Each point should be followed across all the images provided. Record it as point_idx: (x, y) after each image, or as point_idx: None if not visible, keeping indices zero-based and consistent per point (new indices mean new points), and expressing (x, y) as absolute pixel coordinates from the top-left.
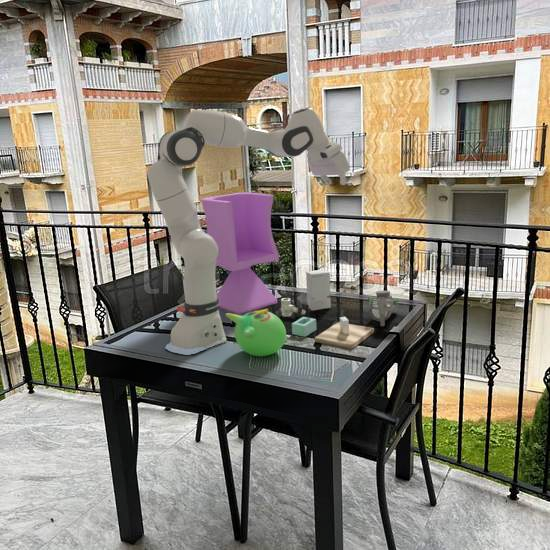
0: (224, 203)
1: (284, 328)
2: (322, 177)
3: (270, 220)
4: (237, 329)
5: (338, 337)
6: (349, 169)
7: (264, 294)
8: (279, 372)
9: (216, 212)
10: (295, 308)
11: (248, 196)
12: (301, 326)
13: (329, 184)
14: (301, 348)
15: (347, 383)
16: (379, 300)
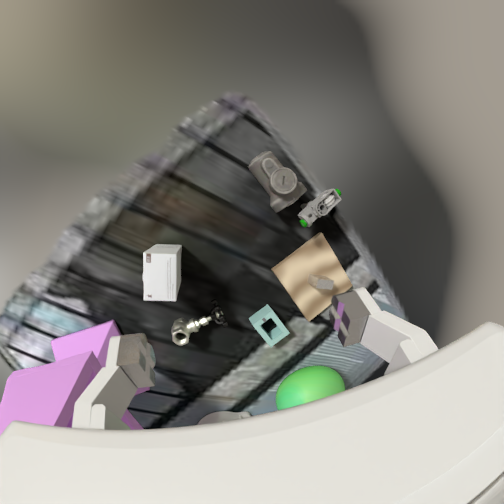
0: None
1: (334, 374)
2: (125, 429)
3: (57, 419)
4: None
5: (325, 293)
6: (495, 325)
7: None
8: (352, 369)
9: None
10: (204, 323)
11: None
12: (284, 335)
13: (153, 353)
14: (315, 339)
15: (401, 316)
16: (324, 214)
